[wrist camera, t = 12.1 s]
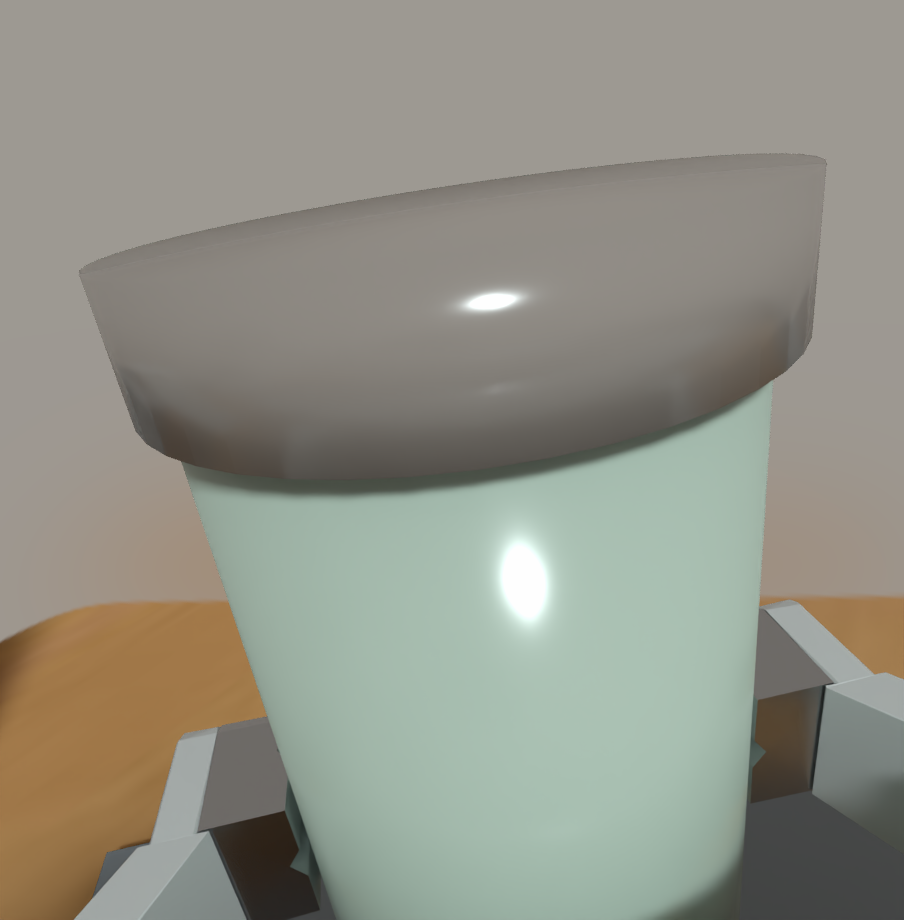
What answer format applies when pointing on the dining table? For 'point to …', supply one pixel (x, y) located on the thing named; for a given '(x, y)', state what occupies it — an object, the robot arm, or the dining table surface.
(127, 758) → the dining table surface
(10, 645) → the dining table surface
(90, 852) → the dining table surface
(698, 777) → the ceramic jar
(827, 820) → the cutting board
